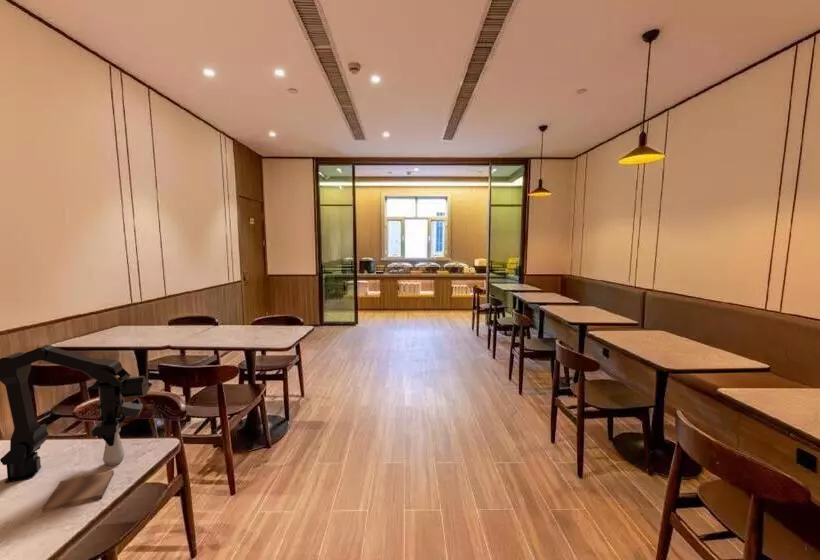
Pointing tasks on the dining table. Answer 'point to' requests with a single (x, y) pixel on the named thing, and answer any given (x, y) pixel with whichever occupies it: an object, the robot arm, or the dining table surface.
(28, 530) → the dining table surface
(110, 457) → the salt shaker
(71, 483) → the walnut board
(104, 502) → the dining table surface
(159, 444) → the dining table surface
